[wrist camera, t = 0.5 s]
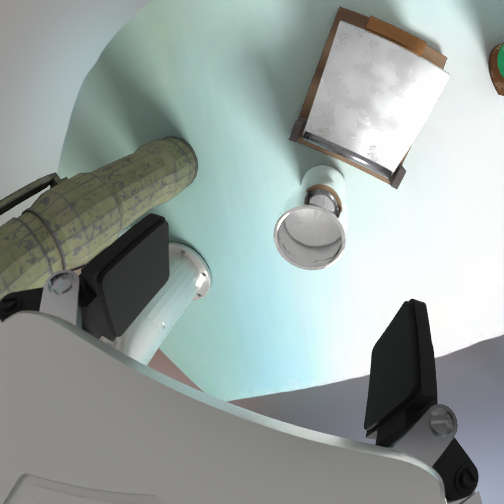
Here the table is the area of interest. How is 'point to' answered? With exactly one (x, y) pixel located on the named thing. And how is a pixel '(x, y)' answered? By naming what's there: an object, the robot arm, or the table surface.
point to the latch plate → (342, 15)
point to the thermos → (87, 211)
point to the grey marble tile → (372, 99)
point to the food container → (497, 68)
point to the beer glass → (314, 220)
